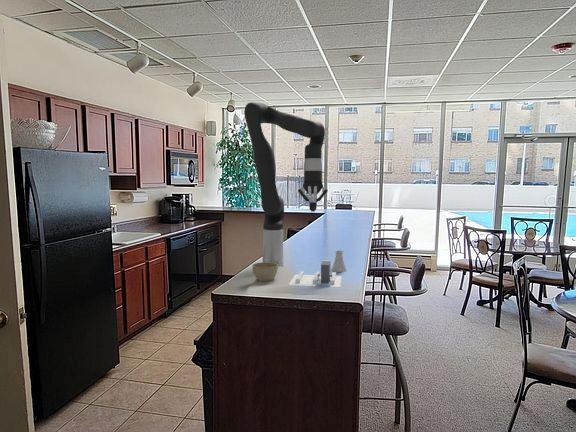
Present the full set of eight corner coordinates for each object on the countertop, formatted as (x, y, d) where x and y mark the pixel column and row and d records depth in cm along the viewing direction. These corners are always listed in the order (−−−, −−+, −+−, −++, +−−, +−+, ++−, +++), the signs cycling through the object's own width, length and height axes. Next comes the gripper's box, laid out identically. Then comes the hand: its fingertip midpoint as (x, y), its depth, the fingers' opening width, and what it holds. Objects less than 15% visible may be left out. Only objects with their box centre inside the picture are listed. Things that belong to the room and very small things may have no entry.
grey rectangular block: (320, 283, 149) (321, 264, 148) (322, 277, 158) (323, 259, 157) (328, 283, 148) (329, 265, 148) (330, 277, 157) (330, 260, 157)
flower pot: (268, 287, 149) (268, 268, 148) (247, 283, 154) (247, 265, 153) (282, 281, 157) (282, 263, 156) (262, 278, 162) (262, 261, 162)
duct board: (288, 288, 147) (288, 279, 146) (295, 277, 163) (295, 269, 162) (340, 291, 144) (340, 281, 143) (341, 279, 159) (341, 271, 159)
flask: (336, 276, 165) (337, 253, 164) (327, 273, 171) (327, 250, 170) (350, 274, 168) (351, 251, 167) (340, 271, 174) (340, 248, 173)
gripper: (329, 169, 166) (329, 210, 168) (298, 170, 169) (298, 210, 170) (328, 169, 159) (328, 212, 161) (296, 169, 161) (296, 212, 163)
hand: (312, 211), depth 166 cm, fingers closed
